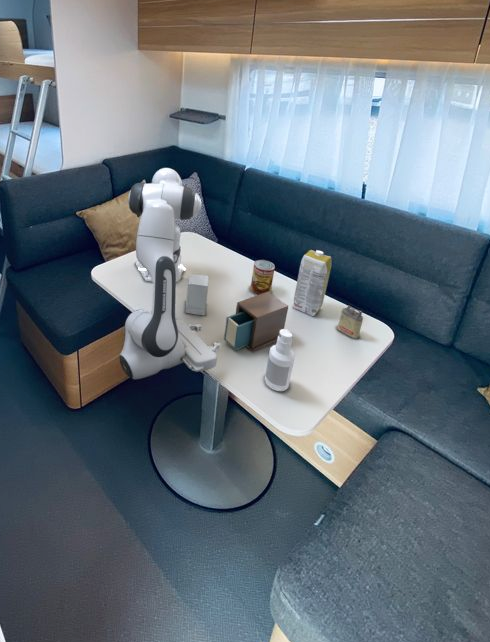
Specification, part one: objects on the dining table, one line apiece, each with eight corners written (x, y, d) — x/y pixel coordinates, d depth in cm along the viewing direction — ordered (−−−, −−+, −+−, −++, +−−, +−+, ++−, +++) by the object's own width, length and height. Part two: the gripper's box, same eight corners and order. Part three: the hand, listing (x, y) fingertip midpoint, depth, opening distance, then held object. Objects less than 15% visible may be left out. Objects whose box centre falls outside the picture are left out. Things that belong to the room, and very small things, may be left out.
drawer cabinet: (232, 333, 141) (236, 301, 136) (261, 321, 147) (267, 290, 143) (252, 351, 133) (258, 318, 128) (283, 338, 139) (289, 306, 134)
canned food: (249, 293, 164) (253, 267, 160) (251, 283, 171) (255, 258, 166) (269, 298, 161) (274, 271, 157) (271, 287, 168) (275, 262, 164)
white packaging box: (205, 316, 149) (208, 286, 145) (184, 313, 151) (187, 283, 146) (205, 304, 156) (208, 275, 152) (186, 301, 157) (188, 273, 153)
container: (223, 339, 136) (226, 317, 133) (255, 327, 142) (258, 305, 139) (235, 350, 132) (238, 327, 128) (267, 337, 138) (270, 314, 135)
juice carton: (322, 309, 155) (335, 253, 146) (314, 319, 149) (327, 261, 141) (298, 299, 161) (309, 245, 152) (290, 308, 155) (301, 252, 147)
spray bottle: (261, 374, 124) (269, 325, 117) (282, 373, 124) (292, 324, 118) (269, 392, 117) (279, 341, 111) (292, 391, 118) (303, 340, 111)
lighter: (335, 328, 144) (341, 305, 141) (340, 324, 147) (346, 301, 143) (355, 340, 139) (361, 315, 136) (360, 335, 141) (367, 311, 138)
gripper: (194, 364, 111) (233, 348, 118) (155, 321, 128) (191, 309, 134) (192, 382, 113) (230, 365, 120) (154, 337, 130) (189, 325, 137)
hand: (209, 335), depth 127 cm, fingers open, 8 cm apart
